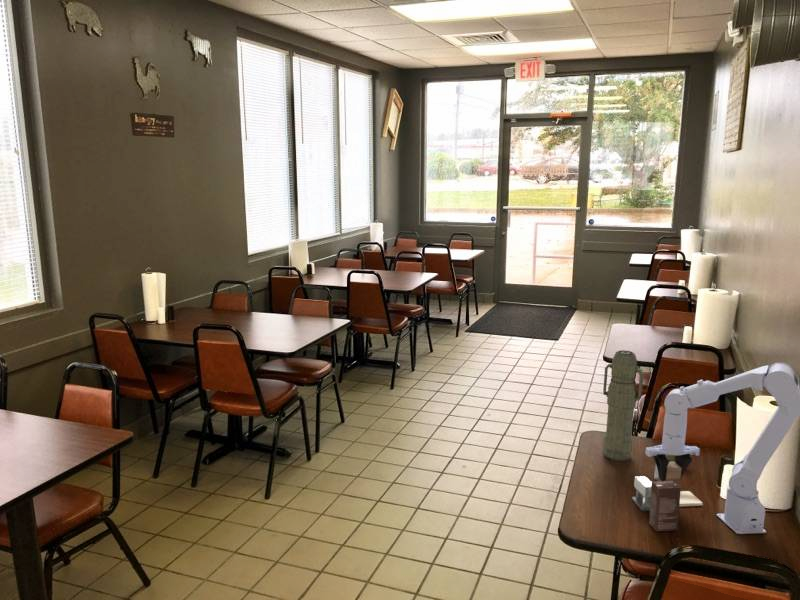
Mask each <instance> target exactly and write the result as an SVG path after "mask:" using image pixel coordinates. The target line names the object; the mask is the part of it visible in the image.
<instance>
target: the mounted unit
mask: <svg viewBox="0 0 800 600" xmlns="http://www.w3.org/2000/svg"><path fill="white" fill-rule="evenodd" d="M633 483H634V484H633V487H634V488H635V491H636V492H635V496H631V501H632V502H634V504H635V505H637V507H638V508H639V509H640V510H641V511H642V512H650V501H651V485H652V481H651V480H650V479H649V478H648V477H646V476H645V475H642V476H641V475H640V476H637V475H636V476H634V481H633Z"/></svg>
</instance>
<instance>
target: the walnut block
mask: <svg viewBox="0 0 800 600" xmlns="http://www.w3.org/2000/svg"><path fill="white" fill-rule="evenodd" d="M681 469H682V468H681V467H680V466H679V465H678V464H676V463H675V462H673V461H669V464H668V466H667V470H666V478H665V481H672V480H673V481H674V482H675V483H676V484H678V485H679V486H680V485H681V481H680V479H681V480H682V478H681ZM659 481H661V480H660V479H659ZM680 487H681V486H680Z"/></svg>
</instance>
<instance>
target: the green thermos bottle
mask: <svg viewBox="0 0 800 600" xmlns="http://www.w3.org/2000/svg"><path fill="white" fill-rule="evenodd" d="M609 368H610V369H611V372H610V375H611V378H610V383H609V384H607V382H608V371H609ZM637 372H638V374H639V379H638V389H637V386H636V384H637V382H636V378H637ZM644 374H645V373H644V371H643V369H642V368H639V367H638V359H637V356H636V354H635V353H634V352H633V351H630V350H622V349H621V350H617V351H615V354H614V355H613V358H612V361H611V363H608V364H607V365H605V367H604V377H603V390H602V391H603V396H606V398H607V399H606V403H607V415H606V416H607V417H606V431H605V434H604V436H603V456H604V457H605V456H606V457H605V458H607V459H609V458H610V459H609V460H612V461H615V462H616V461H617V462H625V461H629V460H631V459H632V452H633V444H634V443H633V442H634V440H633V435H632V434H633V433H632V432H633V425H634V424H633V422H634V412H635V411H634V410H635V408H636V405H637V402H638V401H639V400H641V399H642V391H643V384H644V378H645V377H644ZM607 385H608V387H607Z"/></svg>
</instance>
